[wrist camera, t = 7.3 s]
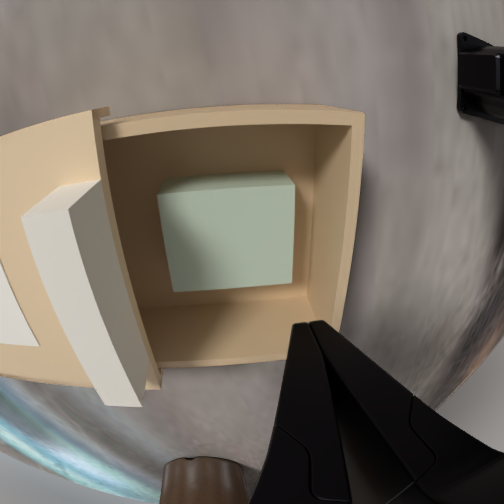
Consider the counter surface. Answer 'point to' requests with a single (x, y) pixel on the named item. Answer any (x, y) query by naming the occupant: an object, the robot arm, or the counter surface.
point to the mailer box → (235, 224)
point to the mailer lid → (67, 266)
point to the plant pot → (203, 482)
